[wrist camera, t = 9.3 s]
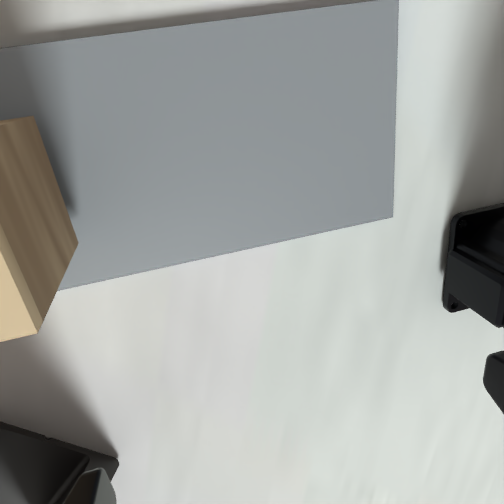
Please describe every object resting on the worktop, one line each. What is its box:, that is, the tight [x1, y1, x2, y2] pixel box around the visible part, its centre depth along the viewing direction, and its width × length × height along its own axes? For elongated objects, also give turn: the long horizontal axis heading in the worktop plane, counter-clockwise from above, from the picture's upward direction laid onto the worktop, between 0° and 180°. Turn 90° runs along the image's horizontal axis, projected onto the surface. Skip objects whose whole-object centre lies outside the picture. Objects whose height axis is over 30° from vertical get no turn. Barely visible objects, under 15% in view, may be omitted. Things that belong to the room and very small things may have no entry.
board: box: [0, 0, 399, 291], centre depth 17 cm, size 24×10×1 cm, turn 97°
